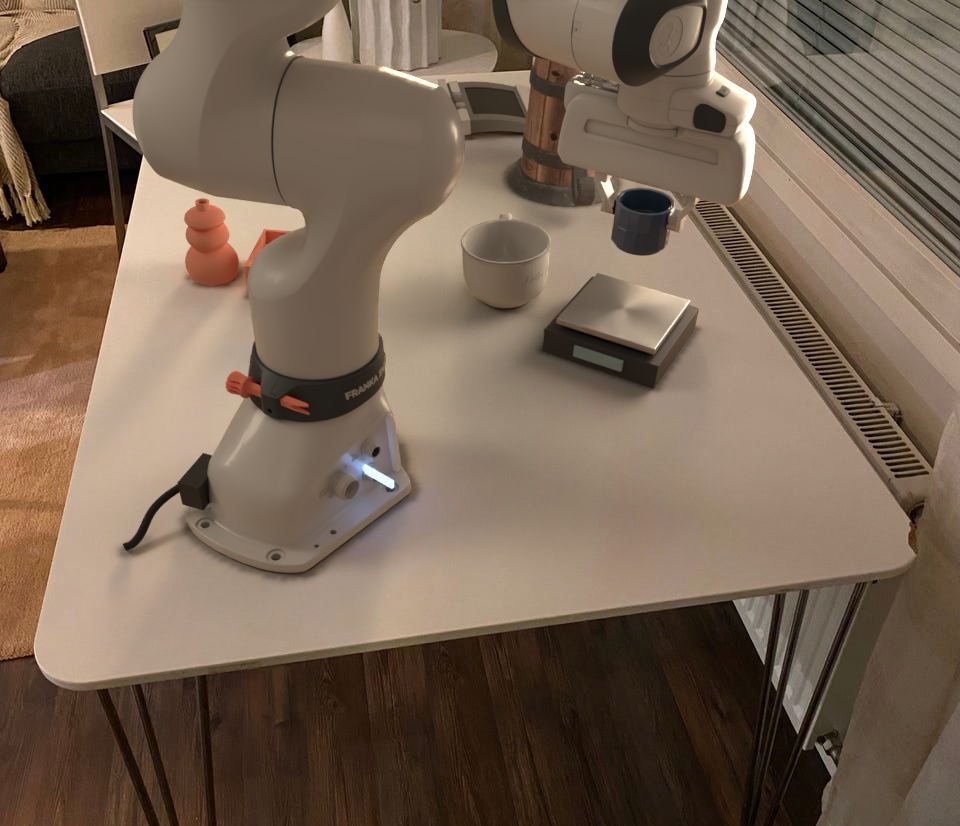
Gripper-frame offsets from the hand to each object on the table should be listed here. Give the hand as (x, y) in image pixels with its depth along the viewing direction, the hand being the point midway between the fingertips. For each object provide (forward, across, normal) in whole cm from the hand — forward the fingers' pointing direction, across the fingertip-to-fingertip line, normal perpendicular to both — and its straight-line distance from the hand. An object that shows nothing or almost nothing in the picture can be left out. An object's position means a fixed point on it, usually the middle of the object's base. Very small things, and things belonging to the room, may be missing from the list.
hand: (642, 220), depth 104 cm
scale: (+16, 0, 0) cm, 16 cm away
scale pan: (+12, 0, 0) cm, 12 cm away
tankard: (+16, -23, +33) cm, 43 cm away
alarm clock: (+16, -45, +51) cm, 70 cm away
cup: (+3, 0, 0) cm, 3 cm away
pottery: (+16, -45, -11) cm, 49 cm away
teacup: (+16, -17, +3) cm, 24 cm away
